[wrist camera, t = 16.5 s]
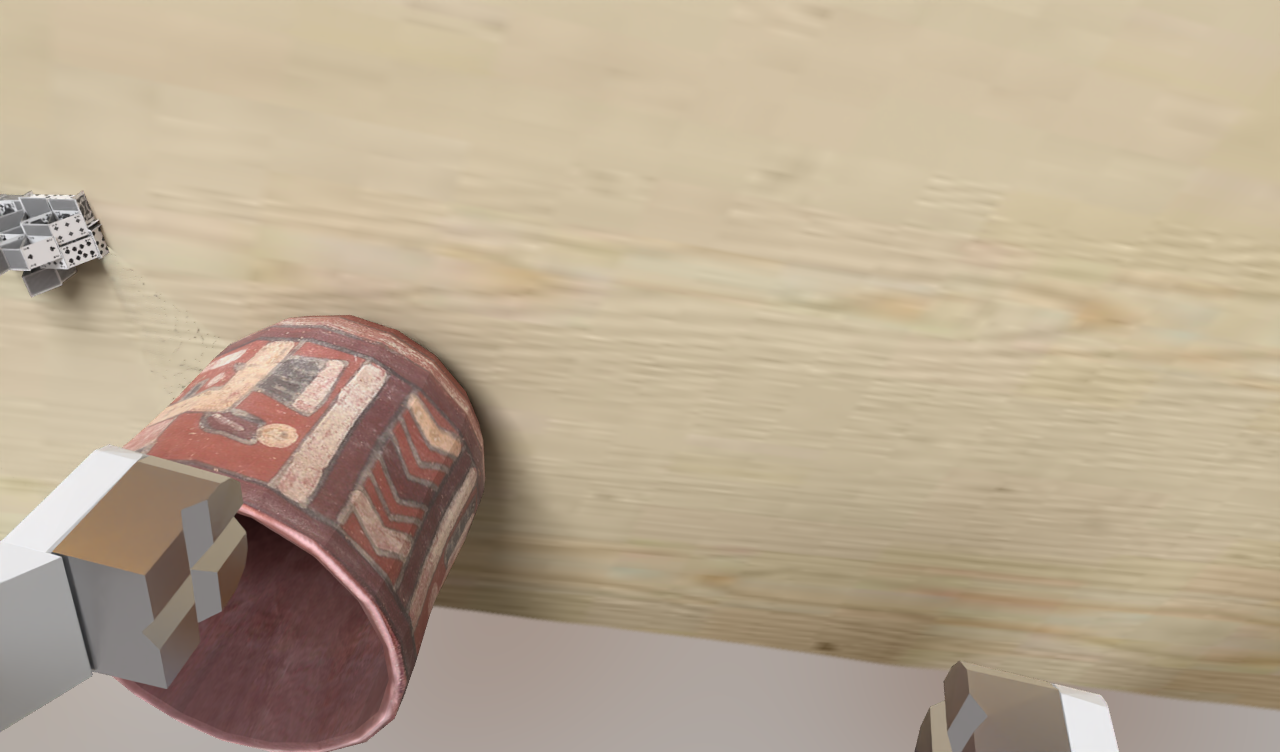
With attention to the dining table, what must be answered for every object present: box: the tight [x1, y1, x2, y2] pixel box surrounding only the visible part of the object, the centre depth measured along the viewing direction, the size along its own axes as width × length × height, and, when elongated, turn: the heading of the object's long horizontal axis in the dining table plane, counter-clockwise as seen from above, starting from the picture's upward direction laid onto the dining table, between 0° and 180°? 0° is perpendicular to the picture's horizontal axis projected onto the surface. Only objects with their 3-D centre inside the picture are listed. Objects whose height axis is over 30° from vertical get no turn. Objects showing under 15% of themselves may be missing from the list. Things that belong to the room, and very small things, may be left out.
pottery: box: [113, 315, 485, 752], centre depth 52 cm, size 18×18×18 cm
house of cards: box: [0, 191, 109, 297], centre depth 55 cm, size 9×9×8 cm
